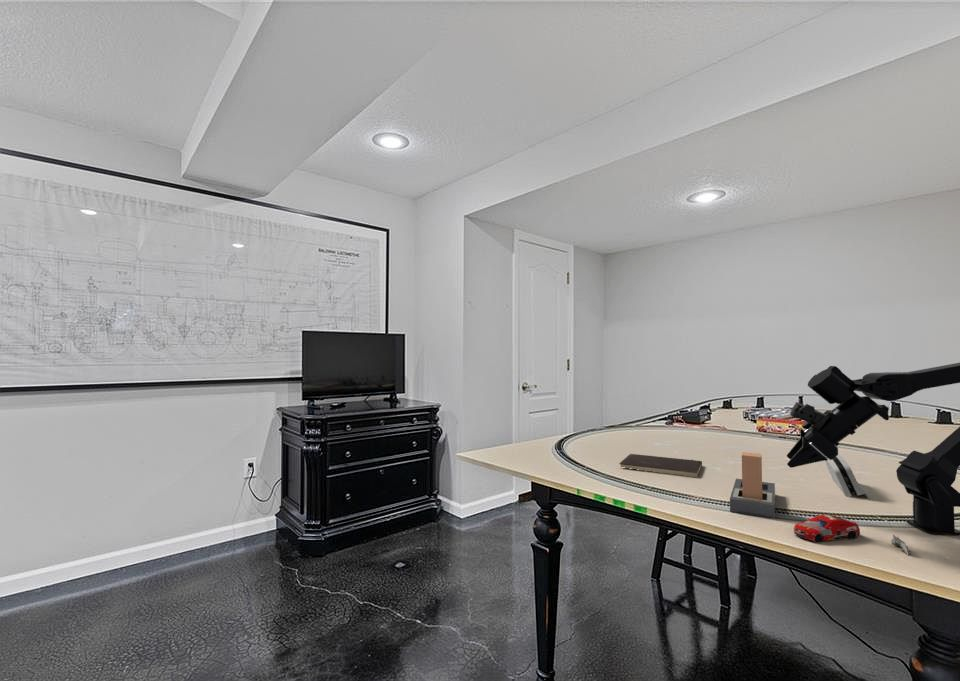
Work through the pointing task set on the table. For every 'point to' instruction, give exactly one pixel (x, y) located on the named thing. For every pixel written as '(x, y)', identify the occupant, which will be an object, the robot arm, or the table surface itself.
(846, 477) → the white slotted holder
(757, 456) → the peg
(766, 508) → the block with square holes
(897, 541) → the small metal piece
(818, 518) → the race car
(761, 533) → the table surface
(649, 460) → the hardcover book
